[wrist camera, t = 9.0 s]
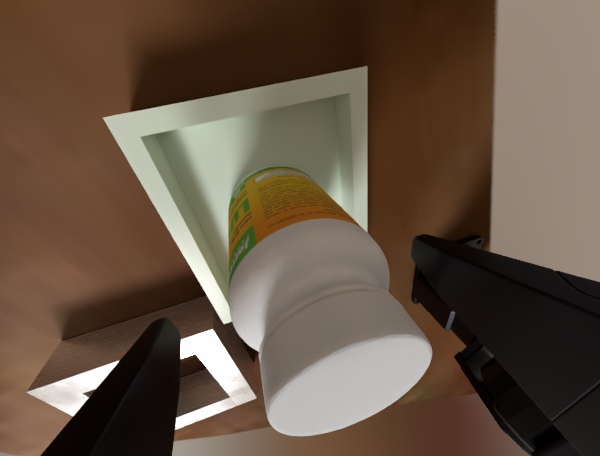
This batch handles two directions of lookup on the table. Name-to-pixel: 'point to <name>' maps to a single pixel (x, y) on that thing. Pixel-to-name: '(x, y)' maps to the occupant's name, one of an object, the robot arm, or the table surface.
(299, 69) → the table surface
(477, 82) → the table surface
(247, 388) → the sleeve holder
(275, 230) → the supplement bottle
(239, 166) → the tray
